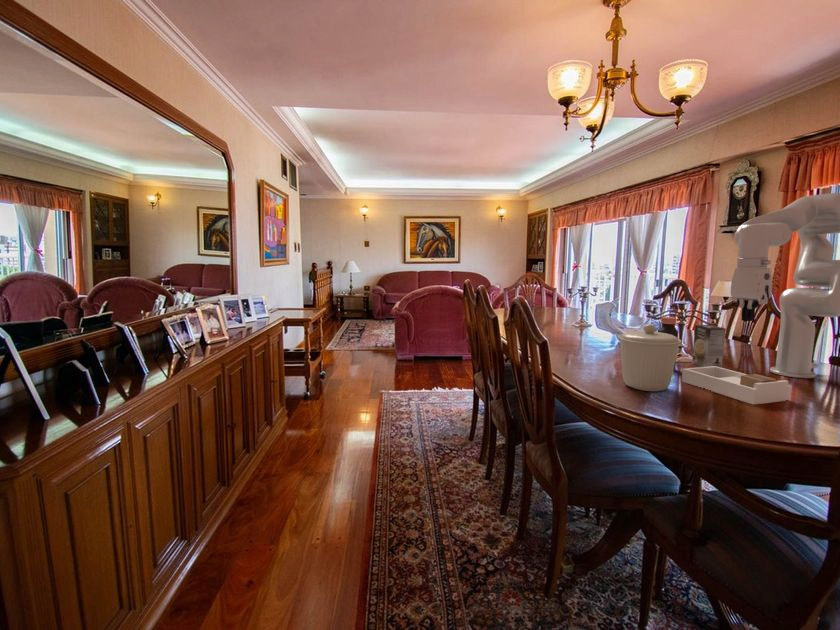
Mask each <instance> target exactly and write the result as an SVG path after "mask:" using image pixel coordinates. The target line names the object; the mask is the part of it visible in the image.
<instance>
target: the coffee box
mask: <svg viewBox="0 0 840 630" xmlns="http://www.w3.org/2000/svg"><path fill="white" fill-rule="evenodd" d="M726 330H727V329H726V328H725V327H721V326H717V325H713V324H695V326H694V336H693V337H694V338H693V346H692V347H693V348H692V356H691V357H692V358H691V359H692V360H691V364H693V365H695V366H698V367H710V366H716V367H720V368H723V358H724V347H725V339H726Z"/></svg>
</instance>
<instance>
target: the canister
mask: <svg viewBox="0 0 840 630" xmlns="http://www.w3.org/2000/svg"><path fill="white" fill-rule="evenodd" d="M656 330H657V327H656V325H655V324H651V323H648V324H645V325H644V326H643V330H629V331H625V332H622V333H621V334H618V336H617V338H618V339H619V340H620V341H619V342H620V343H619V344H620V346H619V347H620V360H621V372H622V373H621V374H622V379H623V382H624V384H625V385H626V386H628V387H629V388H632V389H635V390H639V391H645V392H662V391H665V390H667V389H668V388H669V387H670V385H671V381H672V377H673V373H674V371H675V370H674V366H675V361H676V362H677V356H678V351H679V345H680V344H682V341H683V340H681V339H680V338H679V337H678V338H677V337H675V336H673V335H671V334H667V333H661V332H658V331H656ZM675 367H676V366H675ZM673 370H674V371H673Z"/></svg>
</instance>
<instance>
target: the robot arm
mask: <svg viewBox="0 0 840 630" xmlns="http://www.w3.org/2000/svg"><path fill="white" fill-rule="evenodd" d="M796 231H797V235H798V237H799V240H800V243H801V251H800V255H799V258H798V261H797V263H796V266H795V270H794V272H793V273H794V274H793V282H794V283H795V284H797V285H799V286H803V287H790V288H787V289H785V290H783V291H782V293H781V294H780V296H779V308H780V309H779V310H780V322H779V323H780V325H779V332H778V333H779V334H778V341H777V343H778V344H777V350H776V351H777V352H776V359H775V366H771V367H769V371H770V373H773V374H776V375H780V376H784V377H788V378H789V377H790V378H797V379H813V378H816V376H817V373H815V372H814V371H812V369H817V368H818V367H819V363H816V362H812V360H813V354H814V353H813V352H814V345H815V335H816V326H815V323H814V322H813V319H811V318H810V316H811V317H813V316H815V317H822V318H823V317H825V318H839V317H840V259H833V258H832V257H833V256H834V252H835V247H834V245H833V244H832V242H831V241H829V239H827V238H826V237H825V234H826V235H828V234H840V192H832V193H830V192H829V193H822V194H814V195H812V194H811V195H805V196H802V197H799V198H798V199H797V198H796V200H794V201H792V202H791V203H789V204H787V206H785V207H783V208H781V209H778V210H774V211H771V212H768V213H765V214H762V215H758V216H755V217H753V218H750V219H749V220H747V221H745V222H743V223H742V224H741V225H739V227H738V228H737V229H736V230H735V232H734V237H733V238H734V242H735V244H736V245H737V246H738V248H737V258H736V259H737V260H736V261H737V262H736V267H735V268H734V271H733V273H732V277H731V278H732V279H731V284H730V296H731V298H730V299H731V301H733V302H735V303H737V304H738V305H739V308H740V309H741V315H740V316H741V321H742V322H743V321H745V322H753V321H754V320H755V315H756V309H758V307H760V306H761V305H767V304H768V303H769V301H768V300H769V299H771V298H772V295H773V280H772V279H773V278H772V271H771V269H770V267H768V265H771V264H772V261H771V260H770V259H769V247H780V246H783V245H786V243H788V242H789V241H790V240H791V238H792V235H793V232H796ZM813 287H814V288H813Z"/></svg>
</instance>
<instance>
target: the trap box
mask: <svg viewBox="0 0 840 630" xmlns="http://www.w3.org/2000/svg"><path fill="white" fill-rule="evenodd" d="M681 372H682V375H681V382H682V383H685V384H689V385H692V386H695V387H697V386H698V388H700V387H701V389H703V388H705V389H704V390H707V389H708V390H707V391H710V390H711V391H710V392H713V393H716V394H719V395H722V396H725V397H728V398H731V399H735V400H737V401H738V400H739V401H740V402H744V403H746V404H750V405H759V404H761V405H762V404H769V403H771V404H772V403H777V402H785V401H786V400H788V401H790V392H791V385H789V380H786V379H783V380H777V381H772V382H762V383H754V388H751V387H747V386H744V385H741V384H740V380H741V375H748V374H746V373H743V372H739V371H736V370H731V369H728V368H724V367H722V368H720V367H716V366H710V367H700V366H698V367H689V368H688V367H687V368H682V371H681ZM786 402H787V401H786Z"/></svg>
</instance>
